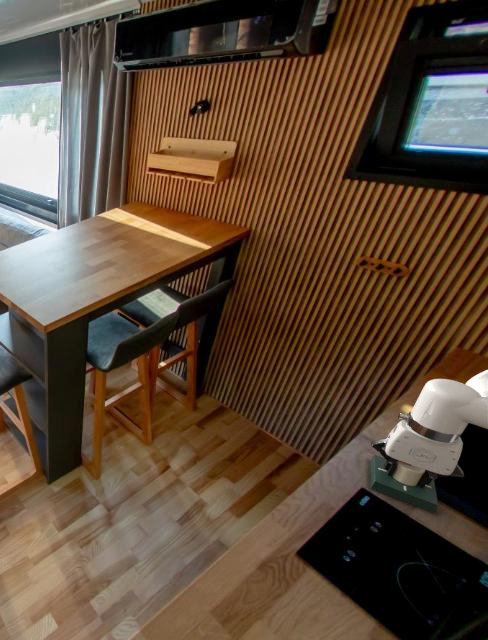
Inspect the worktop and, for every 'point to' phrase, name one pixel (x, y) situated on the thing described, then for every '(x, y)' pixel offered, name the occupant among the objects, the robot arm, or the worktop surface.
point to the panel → (401, 487)
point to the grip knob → (408, 473)
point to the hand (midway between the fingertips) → (404, 477)
